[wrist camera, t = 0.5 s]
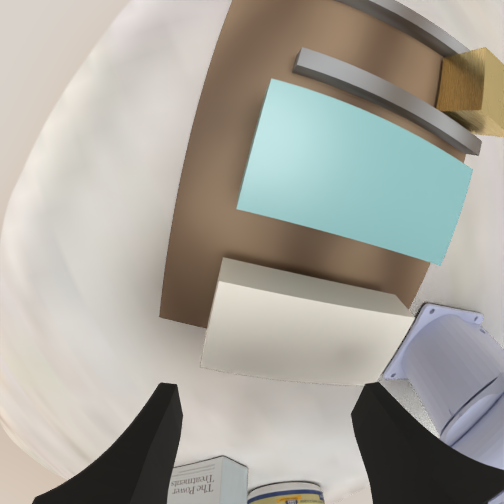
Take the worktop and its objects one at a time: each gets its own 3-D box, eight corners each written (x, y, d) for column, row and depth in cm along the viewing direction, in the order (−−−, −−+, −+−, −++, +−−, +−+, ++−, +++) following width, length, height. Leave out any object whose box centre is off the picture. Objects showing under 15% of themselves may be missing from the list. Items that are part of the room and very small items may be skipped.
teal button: (443, 163, 12) (472, 169, 10) (415, 247, 14) (440, 265, 11) (265, 91, 11) (271, 78, 9) (237, 196, 13) (236, 208, 10)
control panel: (461, 72, 13) (491, 67, 10) (374, 338, 20) (391, 366, 17) (247, -21, 11) (248, -50, 8) (166, 300, 18) (153, 331, 15)
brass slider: (474, 82, 11) (516, 78, 7) (467, 133, 12) (512, 138, 9) (443, 58, 11) (485, 47, 7) (435, 111, 12) (481, 110, 8)
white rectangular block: (395, 294, 15) (415, 317, 13) (360, 359, 17) (372, 386, 14) (222, 257, 14) (218, 280, 11) (205, 337, 15) (200, 367, 13)
